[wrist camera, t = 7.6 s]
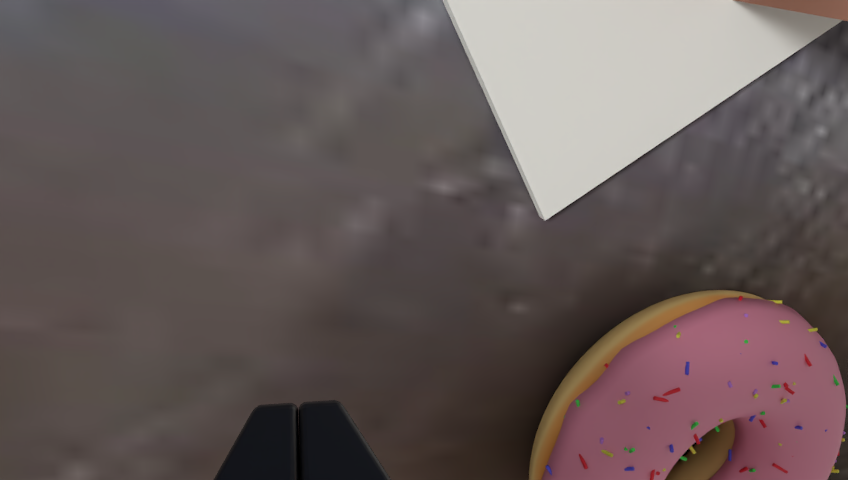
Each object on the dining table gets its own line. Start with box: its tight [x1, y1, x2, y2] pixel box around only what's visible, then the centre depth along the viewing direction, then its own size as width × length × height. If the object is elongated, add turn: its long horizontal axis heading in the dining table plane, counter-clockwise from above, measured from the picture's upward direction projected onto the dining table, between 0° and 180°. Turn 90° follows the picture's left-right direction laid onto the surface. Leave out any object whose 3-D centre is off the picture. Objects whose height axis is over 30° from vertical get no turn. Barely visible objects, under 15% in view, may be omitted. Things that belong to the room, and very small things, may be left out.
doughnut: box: [529, 290, 848, 480], centre depth 24 cm, size 11×11×4 cm
